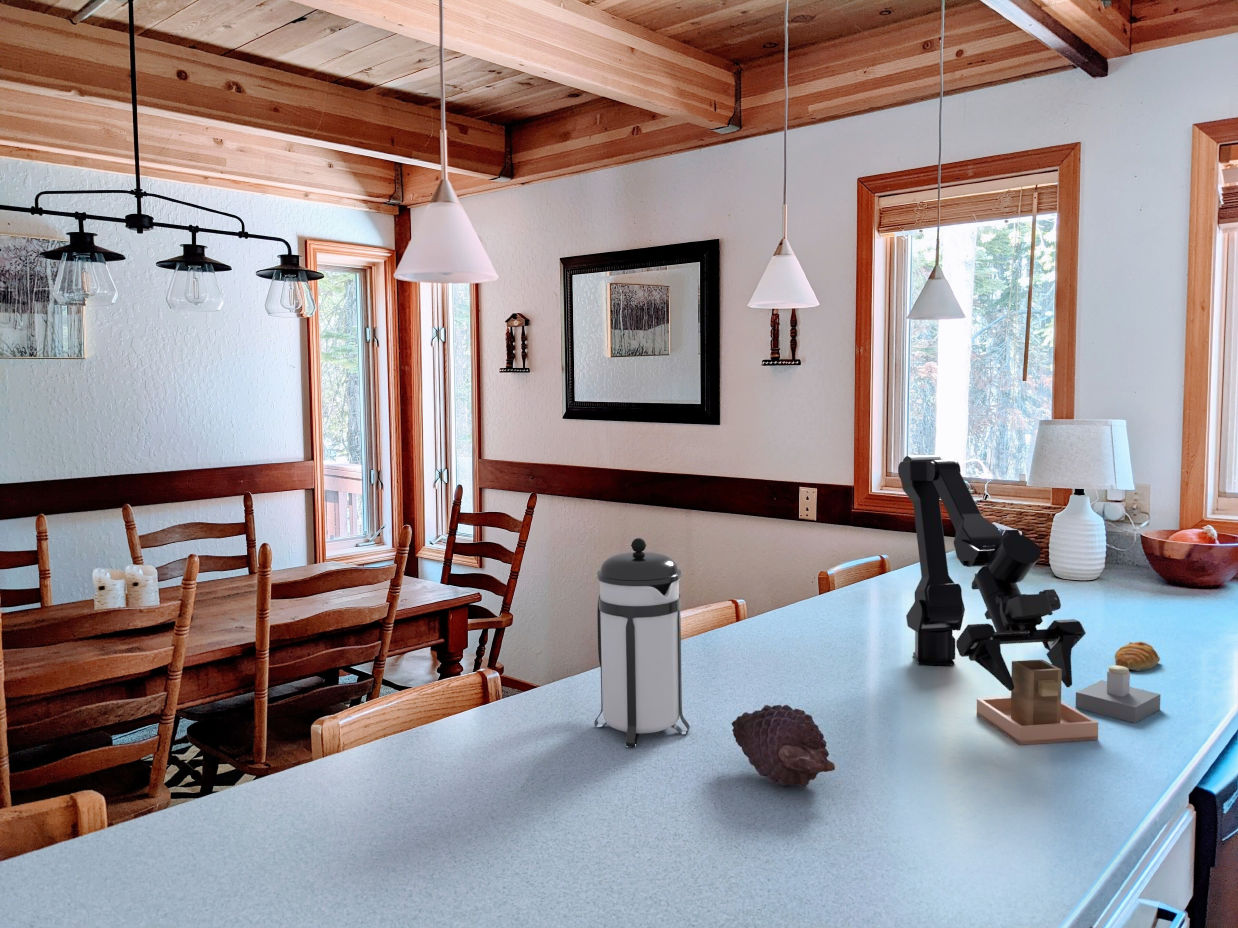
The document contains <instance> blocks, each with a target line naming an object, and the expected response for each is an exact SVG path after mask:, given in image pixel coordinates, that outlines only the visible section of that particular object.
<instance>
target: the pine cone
mask: <svg viewBox="0 0 1238 928" xmlns="http://www.w3.org/2000/svg"><path fill="white" fill-rule="evenodd" d="M731 727H732V735H733V738H735V742H736V744H737V746H738V747H740V748H741V750H742V753H743V754H744V755H745V757H747V758H748V761H749V764H750V765H751V766H753V767H754V769H755V770H756V772H757V774H758V775H760V777H766V779H767V780H768V781H769V782H770V783H771V784H777V783H778V784H780V785H781V786H787V785H790V786H793V785H794V787H797V786H801V787H806V786H807V785H809V783H810V781H814V780H815V779H816V778H817V776H818V774H819V773H827V772H833V771H835V770H836V766H835V763H834V762H832V761H831V760H828V757H829V756H830V752H829V751H828V749H827V748H826V747H827V745H828V744H827V741H826V740H825V737H824V734H823V733H822V731H821V730H820V729H819V725H818V724H817V723H815V722H814V719H813V716H812V714H808V713H806V711H805V710H802V709H799V708H794V709H793V708H792V707H791V706H790V705H789V704H784V705H781V704H776V705H772V706H771V705H768V704H765V705H763V706H762V708H761V710H760V709H758V710H754V711H753V712H751V713H749V712H747V711H745V712H743V713H742V714H741V715H739V716H737V717H736V719H735V720H733V721H732V722H731Z"/></svg>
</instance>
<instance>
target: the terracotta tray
mask: <svg viewBox="0 0 1238 928" xmlns="http://www.w3.org/2000/svg"><path fill="white" fill-rule="evenodd" d="M976 715H977V716H978V717H979V718H981V720H983V721H985V722H987V724H989V725H990V726H992V727H993V728H995V729H997V730H998V731H999V732H1000V733H1002V734H1003V735H1004V736H1006V737H1007V738H1009V739H1010V740H1012V741H1013V742H1014V743H1016V744H1017V745H1019V746H1027V745H1039V744H1042V745H1043V744H1055V743H1056V744H1057V743H1069V742H1070V743H1071V742H1072V743H1073V742H1084V741H1098V740H1099V722H1098V721H1096V720H1095V719H1093V718H1091V717H1089V716H1088V715H1086V714H1084V713H1082V712H1081V711H1079V710H1077V709H1076V708H1074V707H1073V706H1070V705H1069V704H1067V703H1065V702H1063V701H1062V700H1061V723H1058V724H1042V725H1027V726H1022V725H1021V724H1019V723H1018V722H1016V721H1015V720H1013V719H1012V718H1011V696H1000V697H985V698H984V697H983V698H982V697H981V698H977V699H976Z"/></svg>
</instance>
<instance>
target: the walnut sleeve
mask: <svg viewBox="0 0 1238 928" xmlns="http://www.w3.org/2000/svg"><path fill="white" fill-rule="evenodd" d="M1010 675H1011V678H1012V681H1013V684H1014V689H1013V690H1012V691H1010V697H1011V718H1012V719H1013V720H1015V721H1016V722H1018V723H1019V724H1021V725H1022V726H1027V725H1042V724H1058V723H1061V701H1062V669H1060V668H1058V667H1056V666H1054V665H1052V663H1051V662H1048V661H1046V660H1044V659H1029V660H1028V659H1027V660H1025V659H1024V660H1011V674H1010Z"/></svg>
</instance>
